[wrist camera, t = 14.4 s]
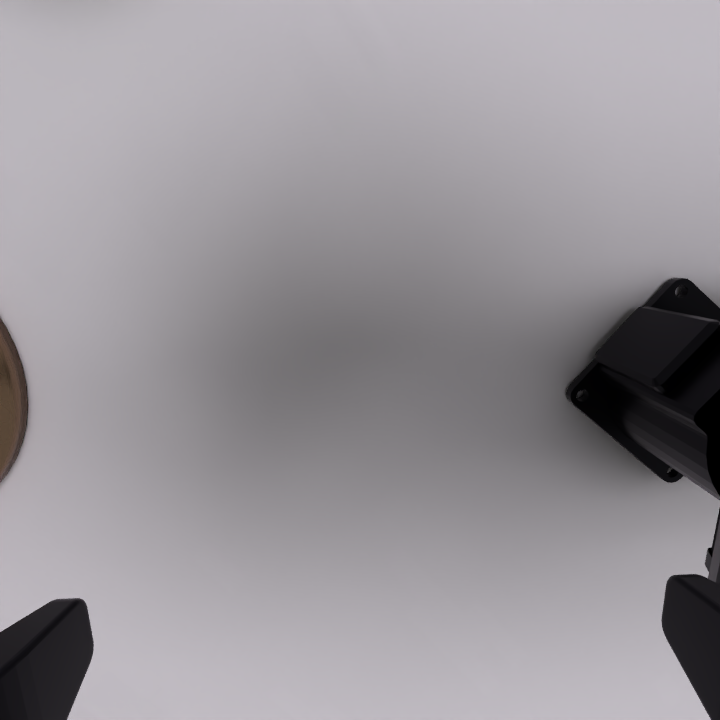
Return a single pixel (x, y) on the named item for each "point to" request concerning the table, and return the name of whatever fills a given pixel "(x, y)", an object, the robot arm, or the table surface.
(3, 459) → the collar seat
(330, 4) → the table surface
